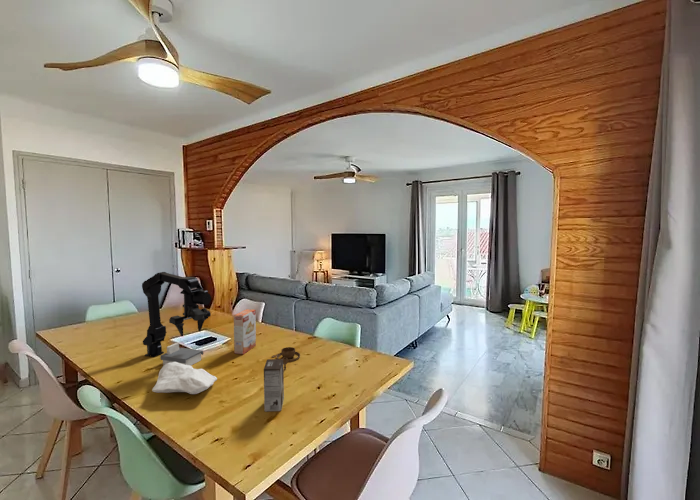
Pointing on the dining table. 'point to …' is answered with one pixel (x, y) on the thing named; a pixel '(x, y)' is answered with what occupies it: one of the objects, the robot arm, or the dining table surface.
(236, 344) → the cracker box
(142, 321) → the dining table surface
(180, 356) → the lid
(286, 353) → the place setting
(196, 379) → the crumpled cloth
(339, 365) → the dining table surface
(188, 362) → the tray
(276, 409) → the coffee box
